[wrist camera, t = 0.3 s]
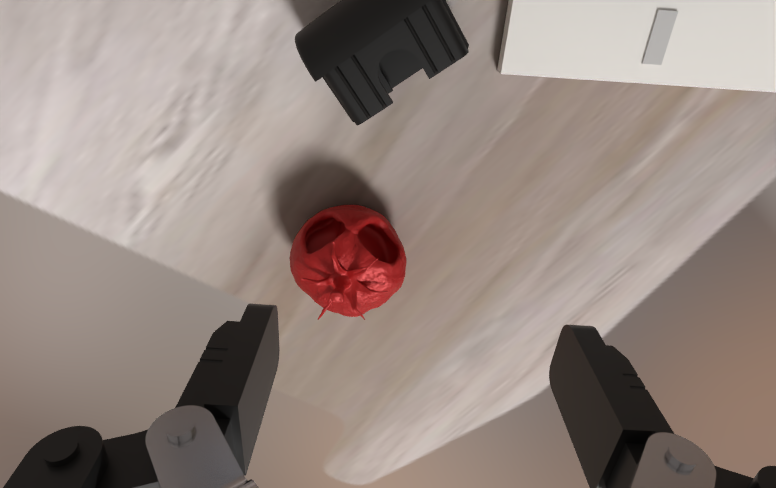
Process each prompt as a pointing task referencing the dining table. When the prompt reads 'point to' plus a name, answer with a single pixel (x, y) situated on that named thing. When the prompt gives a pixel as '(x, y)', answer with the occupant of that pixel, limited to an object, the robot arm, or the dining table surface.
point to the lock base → (644, 41)
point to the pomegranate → (348, 259)
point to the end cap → (378, 48)
